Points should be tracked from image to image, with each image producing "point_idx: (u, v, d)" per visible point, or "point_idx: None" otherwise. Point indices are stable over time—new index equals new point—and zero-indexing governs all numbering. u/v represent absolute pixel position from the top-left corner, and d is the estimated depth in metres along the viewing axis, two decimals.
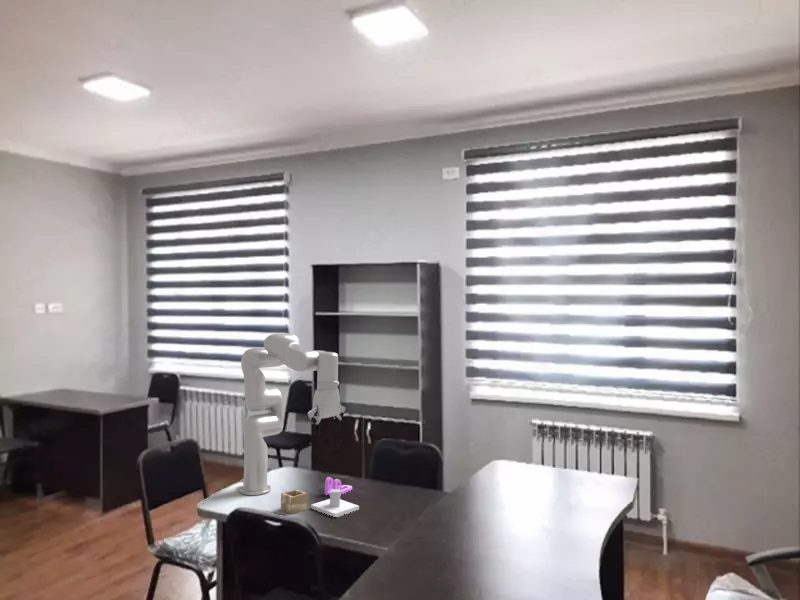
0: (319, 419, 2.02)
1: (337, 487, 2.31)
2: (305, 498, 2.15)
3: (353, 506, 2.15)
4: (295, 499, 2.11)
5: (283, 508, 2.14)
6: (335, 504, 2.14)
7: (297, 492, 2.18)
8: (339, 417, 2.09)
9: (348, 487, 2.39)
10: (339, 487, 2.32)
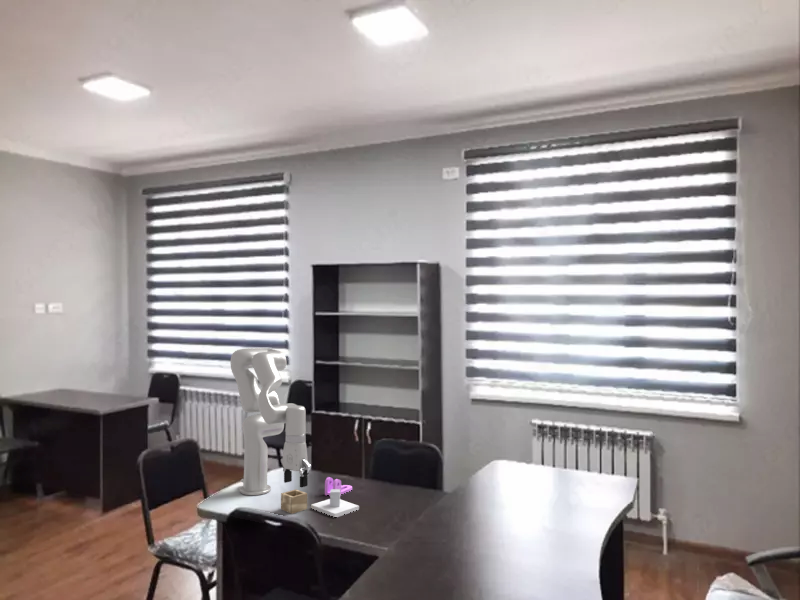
0: None
1: (337, 487, 2.31)
2: (305, 498, 2.15)
3: (353, 506, 2.15)
4: (295, 499, 2.11)
5: (283, 508, 2.14)
6: (335, 504, 2.14)
7: (297, 492, 2.18)
8: None
9: (348, 487, 2.39)
10: (339, 487, 2.32)
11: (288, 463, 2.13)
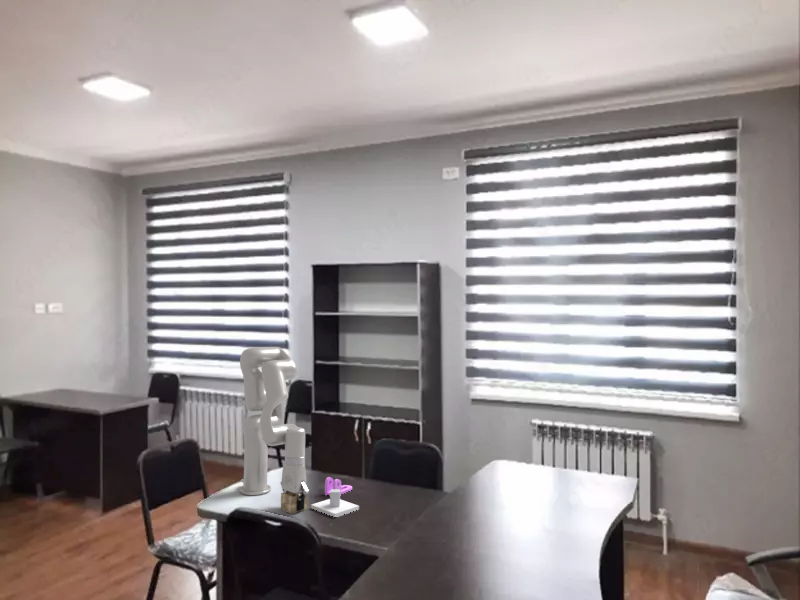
0: None
1: (337, 487, 2.31)
2: (305, 498, 2.15)
3: (353, 506, 2.15)
4: (295, 499, 2.11)
5: (283, 508, 2.14)
6: (335, 504, 2.14)
7: None
8: None
9: (348, 487, 2.39)
10: (339, 487, 2.32)
11: (287, 485, 2.14)
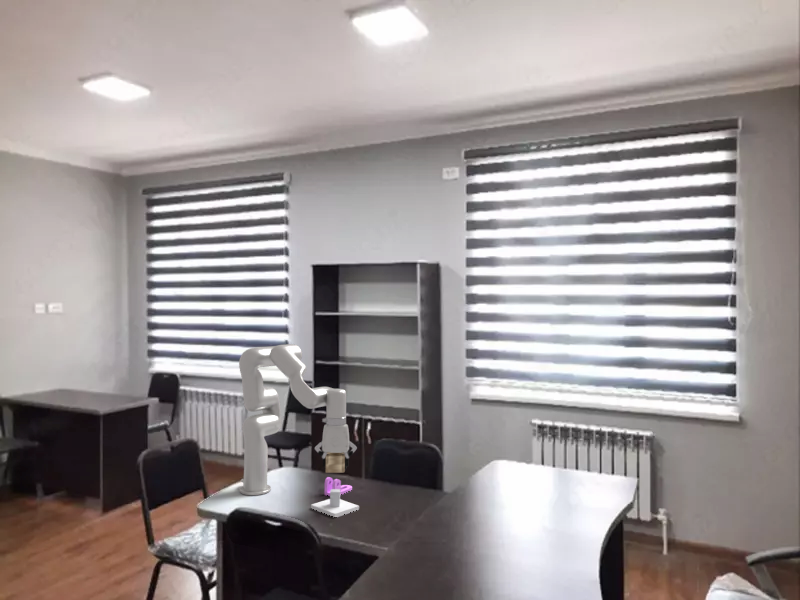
0: None
1: (337, 487, 2.31)
2: None
3: (353, 506, 2.15)
4: (344, 458, 2.14)
5: (330, 470, 2.12)
6: (335, 504, 2.14)
7: (332, 453, 2.19)
8: None
9: (348, 487, 2.39)
10: (339, 487, 2.32)
11: (333, 446, 2.13)
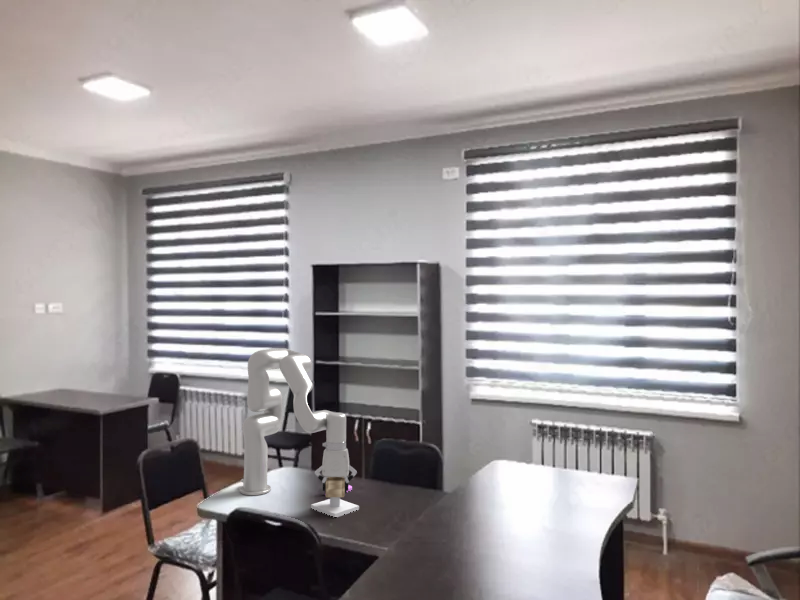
0: None
1: None
2: None
3: (353, 506, 2.15)
4: (344, 482, 2.14)
5: (330, 495, 2.12)
6: (335, 504, 2.14)
7: (332, 477, 2.18)
8: None
9: (348, 487, 2.39)
10: None
11: (333, 471, 2.13)
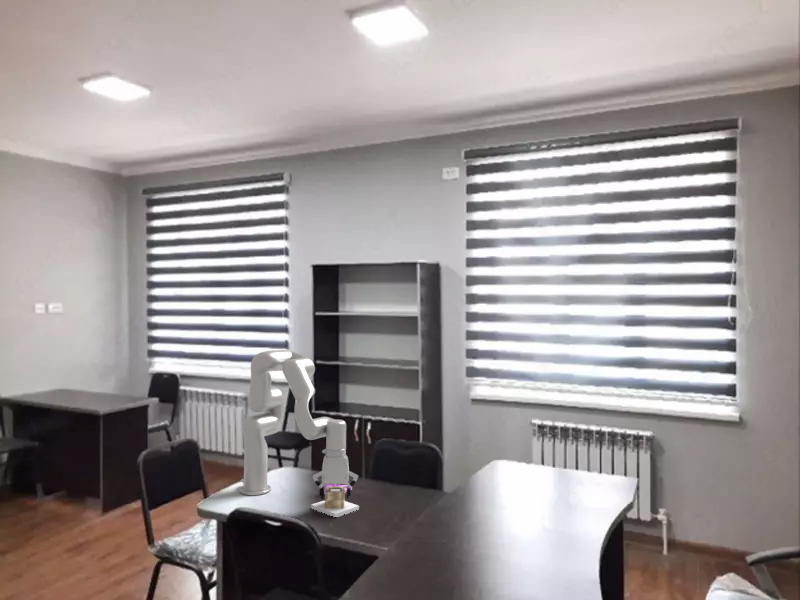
0: None
1: None
2: (344, 491, 2.19)
3: (353, 506, 2.15)
4: None
5: (329, 506, 2.12)
6: None
7: (332, 488, 2.18)
8: None
9: None
10: None
11: (333, 478, 2.13)
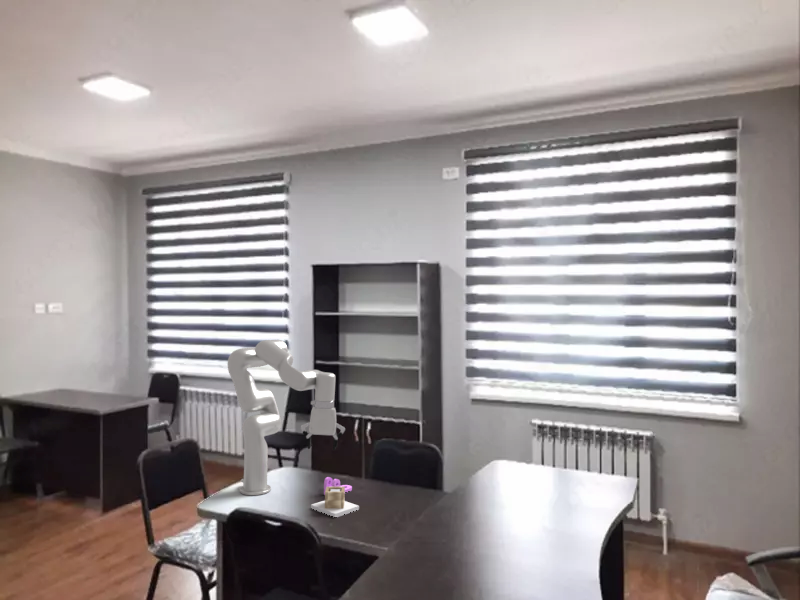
0: None
1: None
2: (344, 491, 2.19)
3: (353, 506, 2.15)
4: None
5: (329, 506, 2.12)
6: None
7: (332, 488, 2.18)
8: None
9: (348, 487, 2.39)
10: None
11: (320, 429, 2.17)
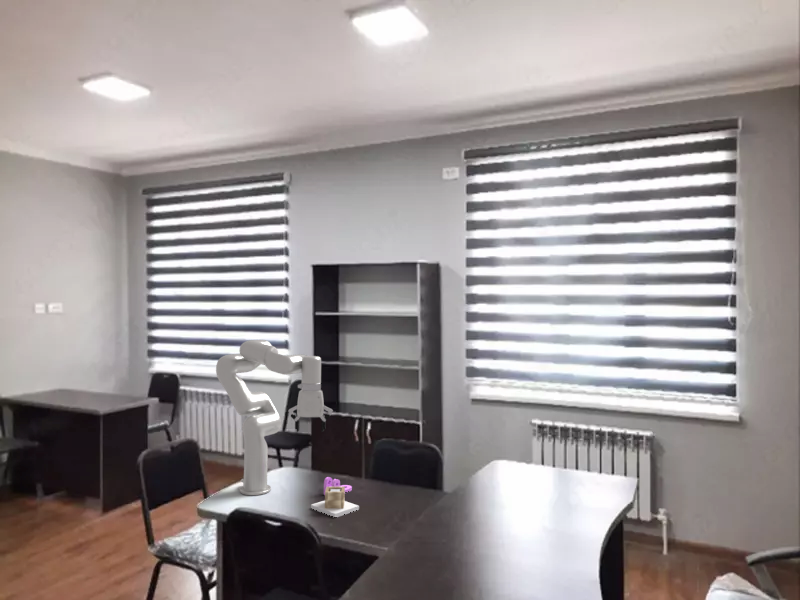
0: None
1: None
2: (344, 491, 2.19)
3: (353, 506, 2.15)
4: None
5: (329, 506, 2.12)
6: None
7: (332, 488, 2.18)
8: None
9: (347, 487, 2.39)
10: None
11: (308, 411, 2.20)
